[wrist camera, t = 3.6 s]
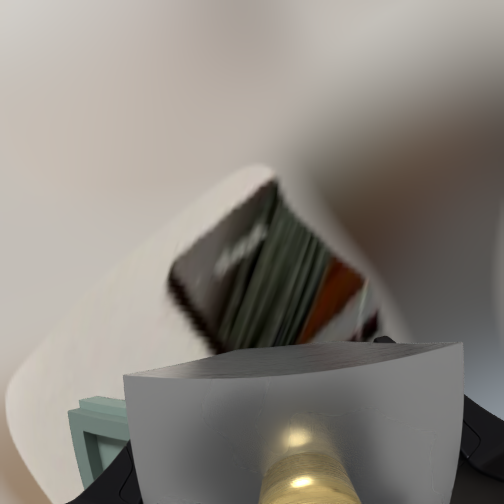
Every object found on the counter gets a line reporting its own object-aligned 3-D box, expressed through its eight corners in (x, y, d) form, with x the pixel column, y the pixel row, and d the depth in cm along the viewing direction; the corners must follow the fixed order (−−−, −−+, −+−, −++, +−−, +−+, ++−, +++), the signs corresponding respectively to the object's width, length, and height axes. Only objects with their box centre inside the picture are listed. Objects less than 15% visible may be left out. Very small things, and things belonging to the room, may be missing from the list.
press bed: (247, 536, 11) (240, 564, 8) (122, 516, 12) (100, 534, 9) (234, 406, 14) (223, 422, 11) (97, 396, 15) (66, 402, 12)
